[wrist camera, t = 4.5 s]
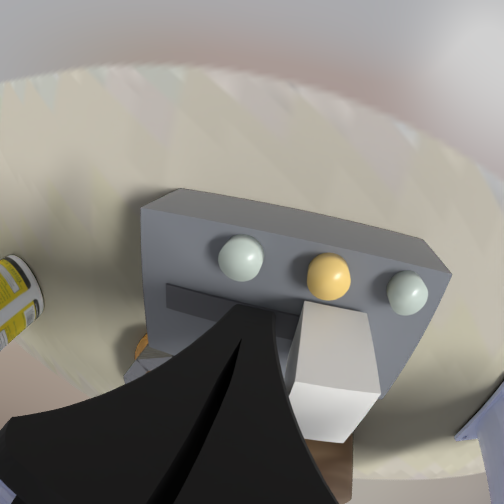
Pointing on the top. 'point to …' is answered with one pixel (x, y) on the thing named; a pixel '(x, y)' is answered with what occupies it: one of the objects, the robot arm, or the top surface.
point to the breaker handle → (331, 372)
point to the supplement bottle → (17, 298)
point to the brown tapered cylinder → (335, 465)
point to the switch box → (282, 273)
